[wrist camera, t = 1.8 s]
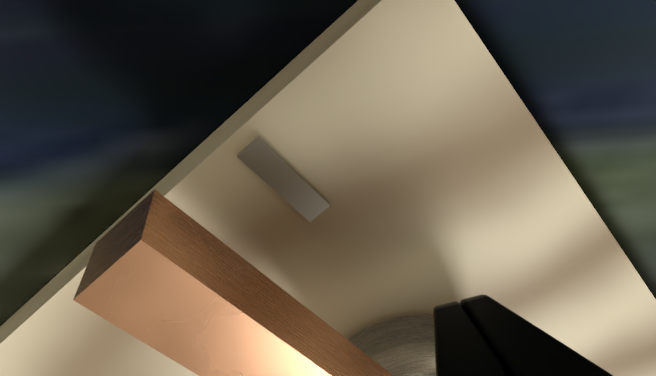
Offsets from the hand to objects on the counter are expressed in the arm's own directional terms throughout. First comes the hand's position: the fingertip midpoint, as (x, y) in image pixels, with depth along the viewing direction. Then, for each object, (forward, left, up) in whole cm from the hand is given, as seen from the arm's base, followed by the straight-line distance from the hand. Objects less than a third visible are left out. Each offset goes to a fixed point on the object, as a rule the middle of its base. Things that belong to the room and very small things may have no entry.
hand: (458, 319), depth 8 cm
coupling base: (-9, +5, -9) cm, 13 cm away
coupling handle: (-4, +5, -7) cm, 10 cm away
